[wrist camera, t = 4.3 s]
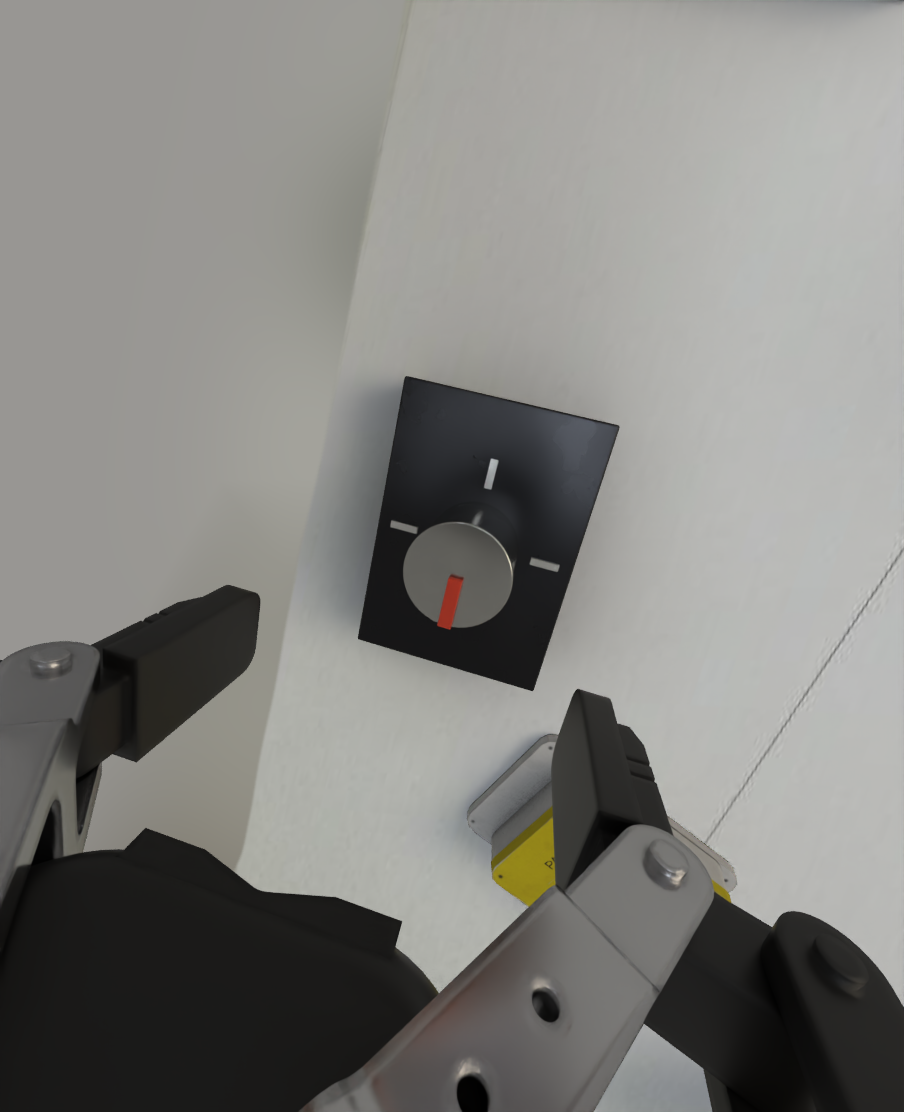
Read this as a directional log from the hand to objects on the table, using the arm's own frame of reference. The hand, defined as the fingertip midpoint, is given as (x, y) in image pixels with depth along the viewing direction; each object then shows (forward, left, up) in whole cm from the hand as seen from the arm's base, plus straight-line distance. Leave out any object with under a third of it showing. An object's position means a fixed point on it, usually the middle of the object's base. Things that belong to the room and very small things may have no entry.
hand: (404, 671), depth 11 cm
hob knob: (0, 0, -12) cm, 12 cm away
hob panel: (0, 0, -15) cm, 15 cm away
